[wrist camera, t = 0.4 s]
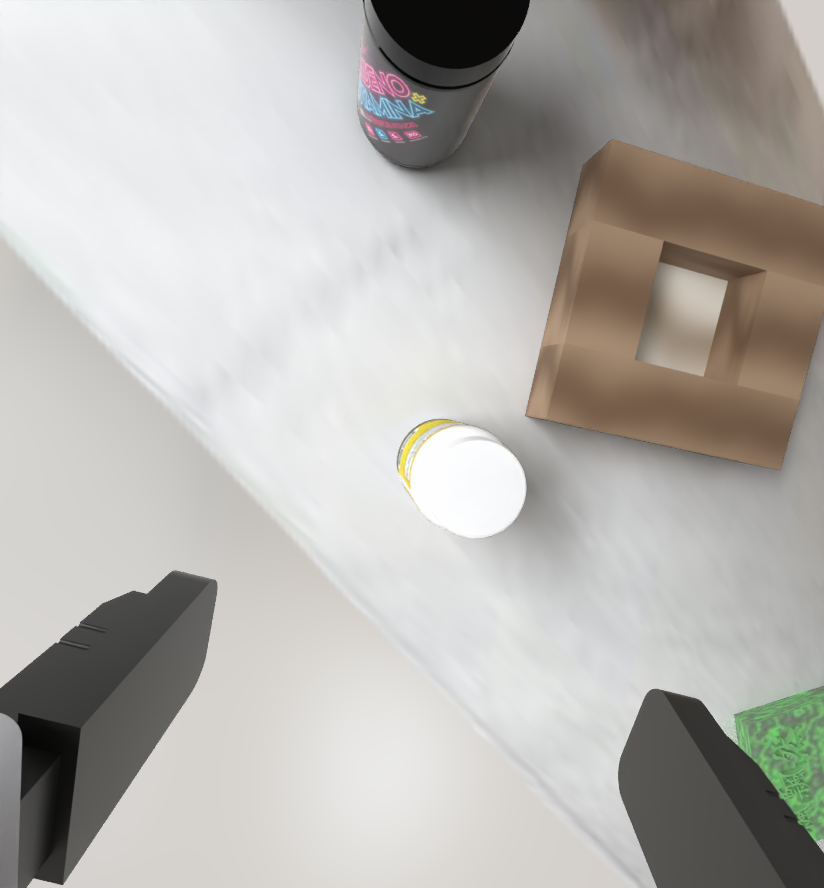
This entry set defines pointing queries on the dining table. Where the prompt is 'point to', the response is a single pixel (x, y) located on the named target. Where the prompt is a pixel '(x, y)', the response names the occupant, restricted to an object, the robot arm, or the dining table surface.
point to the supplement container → (429, 71)
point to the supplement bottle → (461, 477)
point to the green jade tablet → (790, 752)
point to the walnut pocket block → (682, 308)
